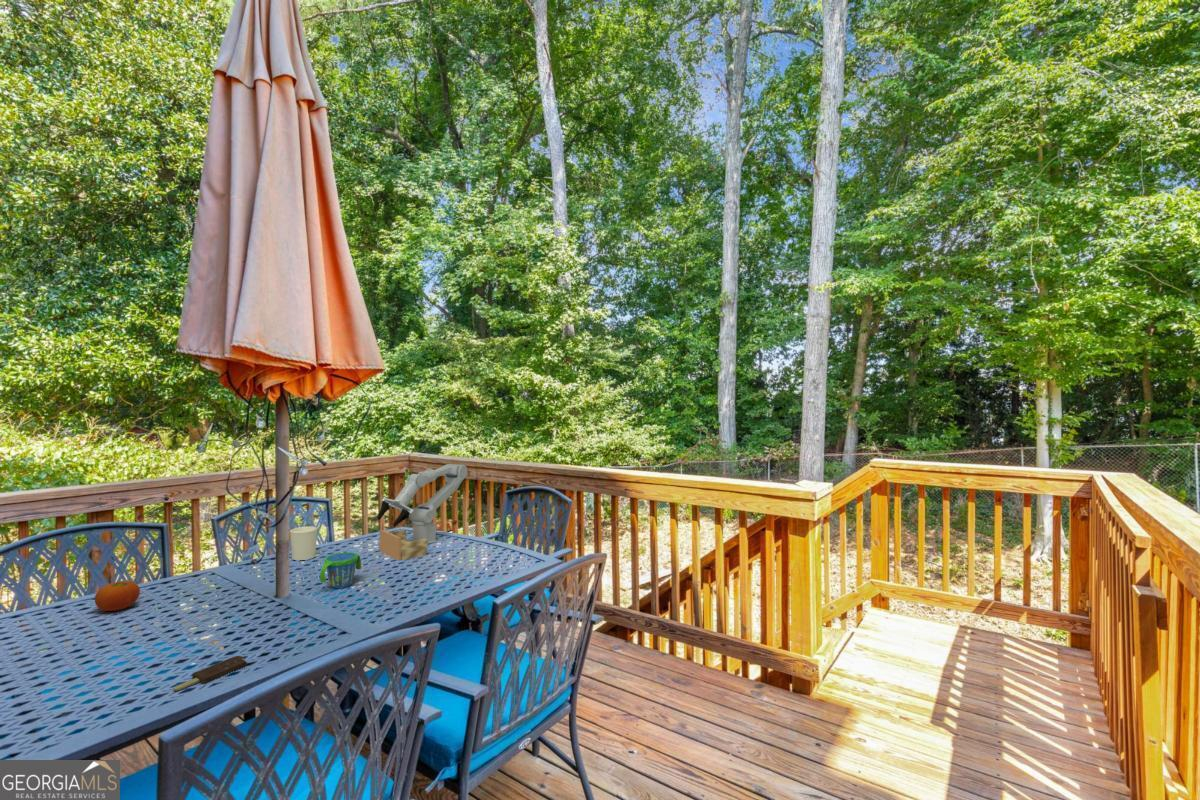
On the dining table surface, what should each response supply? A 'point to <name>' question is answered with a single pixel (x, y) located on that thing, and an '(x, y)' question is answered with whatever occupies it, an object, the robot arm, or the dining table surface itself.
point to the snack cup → (340, 569)
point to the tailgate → (390, 544)
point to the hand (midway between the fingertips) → (386, 522)
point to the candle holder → (303, 542)
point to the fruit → (117, 595)
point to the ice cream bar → (214, 672)
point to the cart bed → (411, 546)
